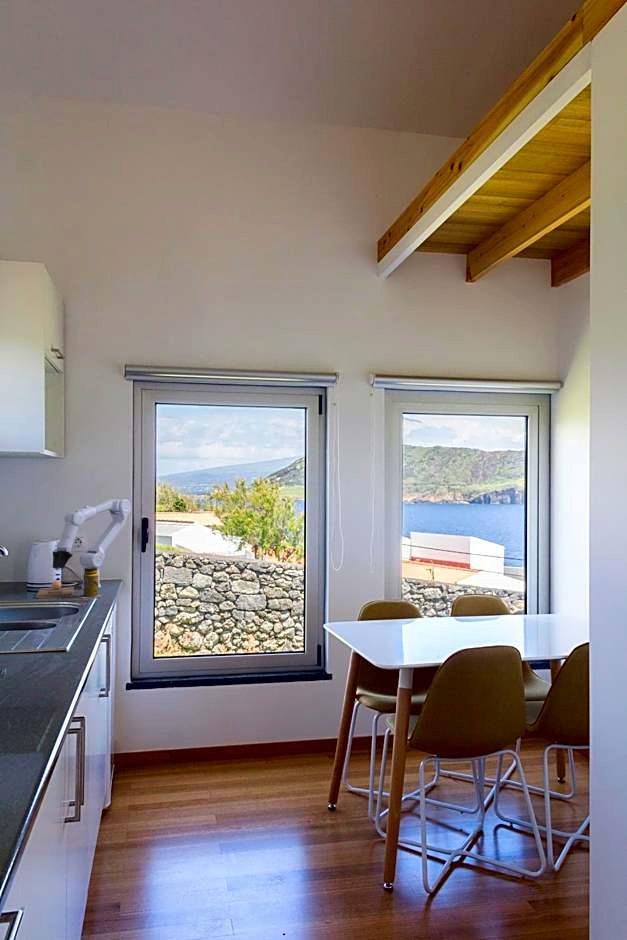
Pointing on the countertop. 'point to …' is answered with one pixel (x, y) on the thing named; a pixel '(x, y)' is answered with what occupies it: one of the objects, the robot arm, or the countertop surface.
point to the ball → (56, 584)
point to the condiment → (90, 583)
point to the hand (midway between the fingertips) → (57, 568)
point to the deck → (55, 593)
